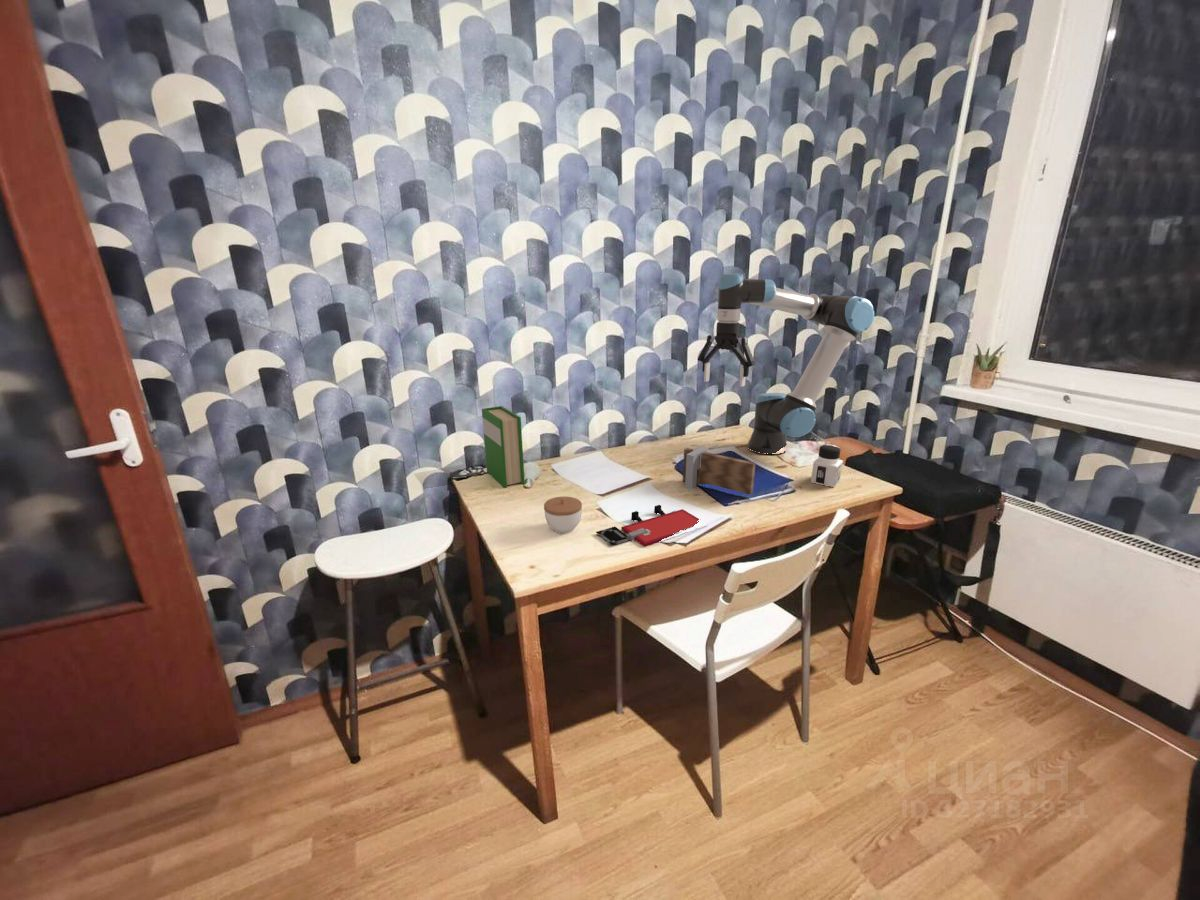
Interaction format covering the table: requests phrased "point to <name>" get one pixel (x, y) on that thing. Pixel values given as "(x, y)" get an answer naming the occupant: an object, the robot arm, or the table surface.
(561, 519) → the lidded jar
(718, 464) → the walnut slotted board
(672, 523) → the red board with handle
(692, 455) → the grey slotted plate
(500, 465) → the hardback book
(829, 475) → the container
